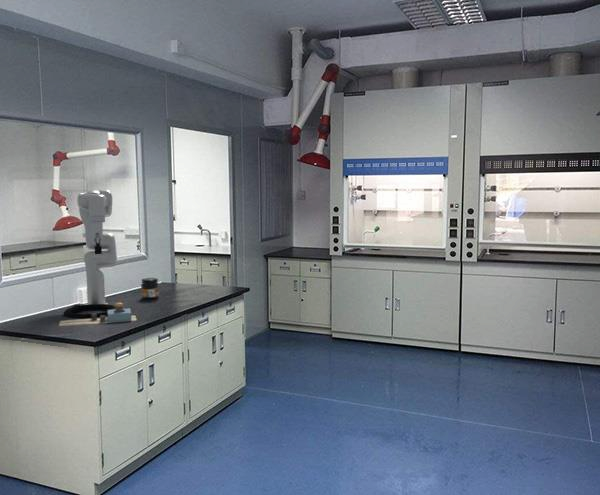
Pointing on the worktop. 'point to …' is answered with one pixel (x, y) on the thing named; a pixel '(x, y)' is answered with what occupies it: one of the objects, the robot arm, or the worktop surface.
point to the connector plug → (118, 307)
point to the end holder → (119, 315)
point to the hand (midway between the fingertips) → (98, 252)
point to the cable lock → (77, 308)
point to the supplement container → (149, 289)
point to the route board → (89, 320)
